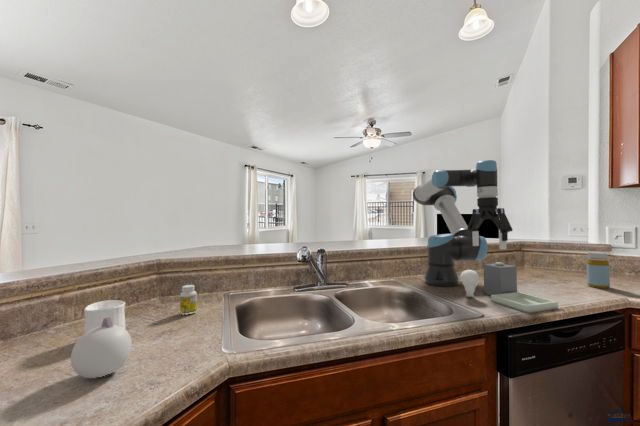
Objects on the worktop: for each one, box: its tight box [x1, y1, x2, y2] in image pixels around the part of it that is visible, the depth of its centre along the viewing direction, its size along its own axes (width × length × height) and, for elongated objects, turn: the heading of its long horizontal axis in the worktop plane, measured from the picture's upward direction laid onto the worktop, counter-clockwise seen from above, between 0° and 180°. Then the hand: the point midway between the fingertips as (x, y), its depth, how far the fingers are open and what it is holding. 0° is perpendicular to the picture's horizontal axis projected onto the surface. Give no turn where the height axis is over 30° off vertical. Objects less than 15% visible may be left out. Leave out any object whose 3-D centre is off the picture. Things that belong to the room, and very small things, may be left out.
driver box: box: [482, 261, 518, 296], centre depth 115 cm, size 8×8×13 cm
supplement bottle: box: [179, 284, 198, 313], centre depth 100 cm, size 5×5×10 cm
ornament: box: [70, 317, 133, 379], centre depth 61 cm, size 10×10×12 cm
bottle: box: [586, 251, 611, 289], centre depth 124 cm, size 7×7×15 cm
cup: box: [83, 299, 126, 335], centre depth 79 cm, size 10×10×10 cm
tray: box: [490, 291, 559, 314], centre depth 102 cm, size 14×14×2 cm
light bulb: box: [459, 269, 480, 299], centre depth 112 cm, size 7×7×11 cm
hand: (488, 247), depth 119 cm, fingers open, 13 cm apart
